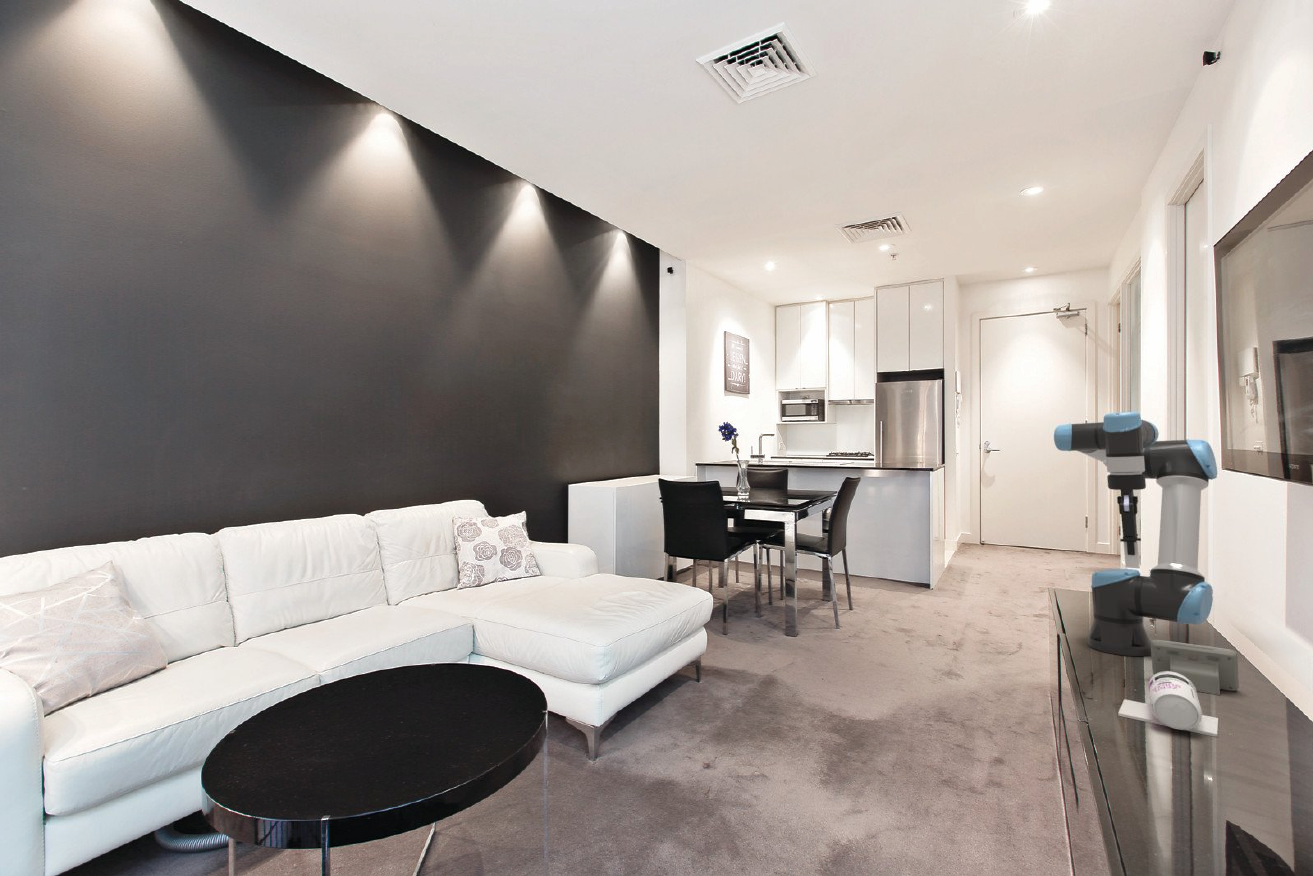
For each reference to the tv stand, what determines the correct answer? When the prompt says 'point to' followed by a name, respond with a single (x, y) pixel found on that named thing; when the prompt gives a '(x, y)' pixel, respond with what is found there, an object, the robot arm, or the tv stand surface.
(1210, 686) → the digital clock
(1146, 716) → the mat
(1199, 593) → the robot arm
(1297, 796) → the tv stand surface
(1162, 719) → the supplement can
